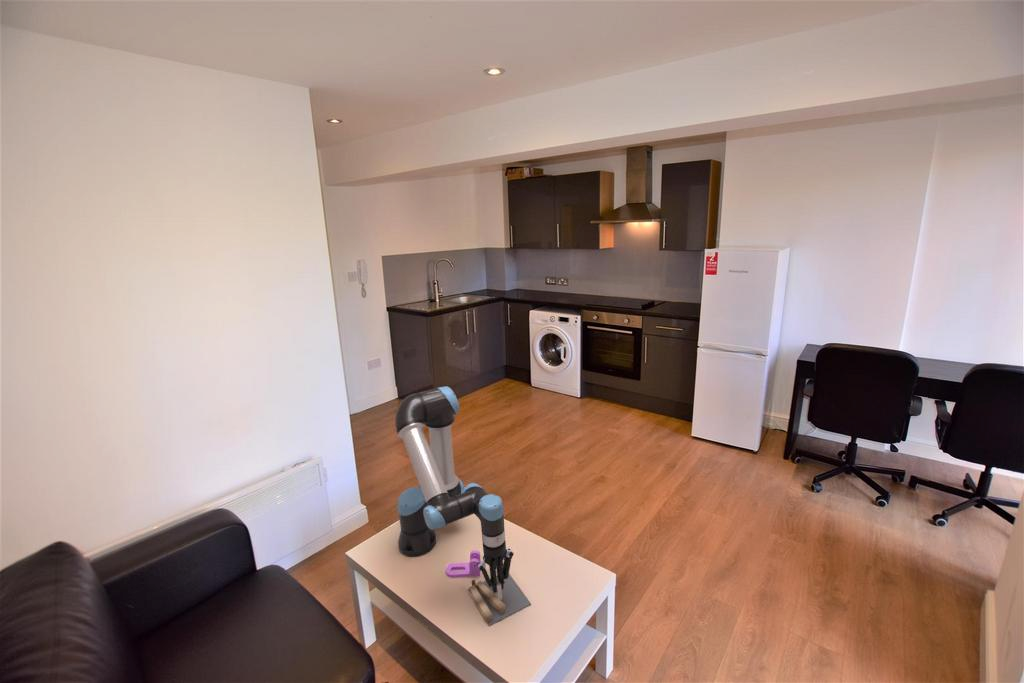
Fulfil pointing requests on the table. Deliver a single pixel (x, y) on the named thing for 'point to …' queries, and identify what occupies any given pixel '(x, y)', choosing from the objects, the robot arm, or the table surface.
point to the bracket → (465, 567)
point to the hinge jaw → (491, 597)
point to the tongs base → (480, 602)
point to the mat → (507, 600)
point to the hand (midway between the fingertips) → (498, 597)
